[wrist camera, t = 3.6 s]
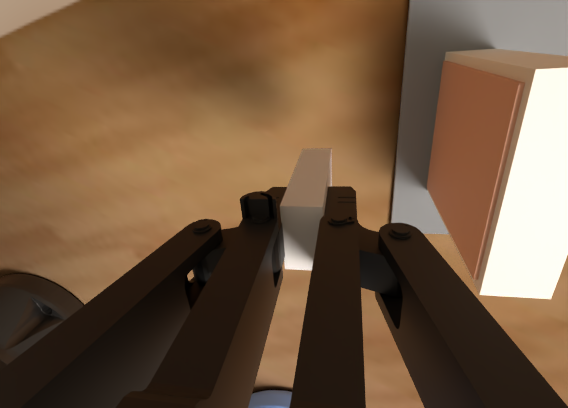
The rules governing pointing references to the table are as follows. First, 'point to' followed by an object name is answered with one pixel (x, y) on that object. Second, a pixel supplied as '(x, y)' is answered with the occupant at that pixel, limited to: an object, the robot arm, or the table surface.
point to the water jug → (270, 399)
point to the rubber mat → (428, 68)
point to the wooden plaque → (504, 167)
